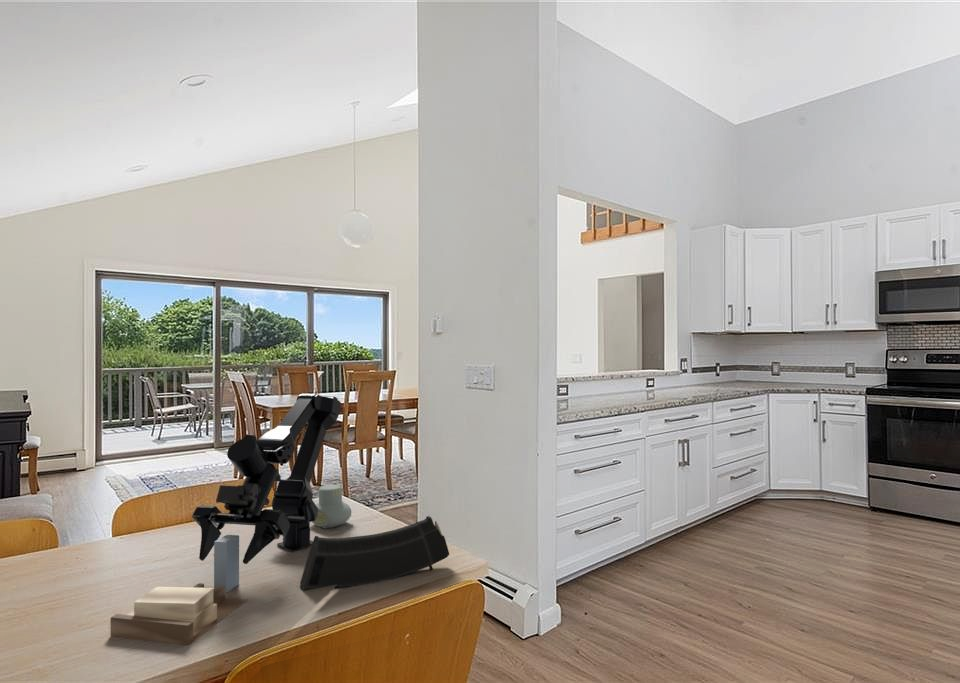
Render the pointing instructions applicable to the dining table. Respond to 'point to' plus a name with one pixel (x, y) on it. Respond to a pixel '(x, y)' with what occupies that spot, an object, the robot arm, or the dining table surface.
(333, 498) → the air freshener
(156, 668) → the dining table surface
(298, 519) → the robot arm
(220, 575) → the tall board
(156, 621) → the walnut rack
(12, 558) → the dining table surface
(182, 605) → the offcut stack
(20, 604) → the dining table surface
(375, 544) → the magazine
